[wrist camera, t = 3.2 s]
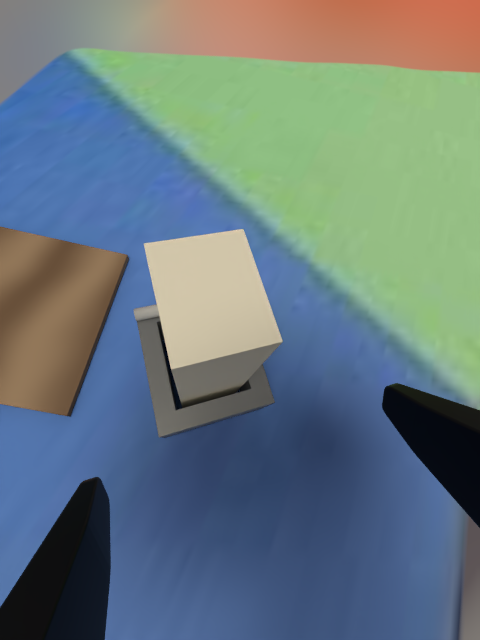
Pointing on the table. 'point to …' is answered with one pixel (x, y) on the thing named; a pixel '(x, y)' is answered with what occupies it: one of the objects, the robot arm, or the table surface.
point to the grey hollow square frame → (166, 413)
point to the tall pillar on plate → (211, 313)
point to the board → (51, 317)
